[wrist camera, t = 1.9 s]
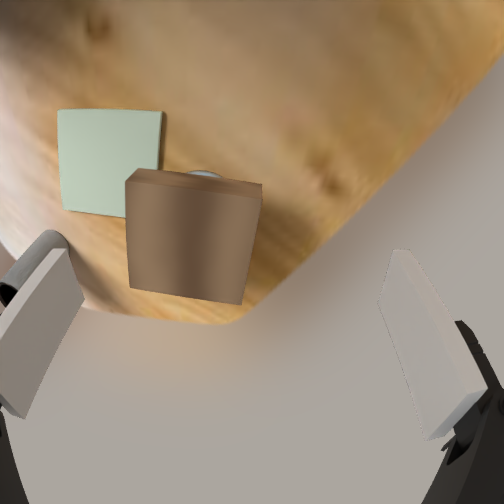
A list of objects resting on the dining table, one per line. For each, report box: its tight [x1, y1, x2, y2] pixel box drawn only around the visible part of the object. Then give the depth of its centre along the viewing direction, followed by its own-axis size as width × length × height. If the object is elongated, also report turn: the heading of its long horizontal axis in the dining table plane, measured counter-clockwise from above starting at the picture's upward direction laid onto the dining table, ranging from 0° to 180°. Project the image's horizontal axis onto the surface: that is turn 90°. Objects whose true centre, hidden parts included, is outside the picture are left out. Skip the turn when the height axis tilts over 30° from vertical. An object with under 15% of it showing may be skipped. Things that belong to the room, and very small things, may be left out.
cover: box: [125, 168, 262, 305], centre depth 26 cm, size 10×10×3 cm
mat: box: [57, 108, 163, 218], centre depth 28 cm, size 11×11×1 cm
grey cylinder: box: [0, 230, 69, 307], centre depth 29 cm, size 4×4×10 cm
